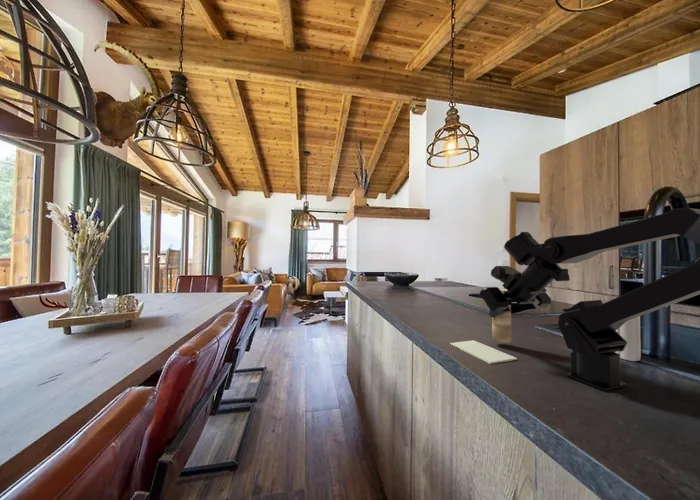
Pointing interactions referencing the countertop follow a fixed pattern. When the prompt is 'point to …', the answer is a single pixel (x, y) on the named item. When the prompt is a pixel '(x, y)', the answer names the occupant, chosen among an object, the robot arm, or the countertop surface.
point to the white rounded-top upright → (631, 339)
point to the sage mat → (483, 352)
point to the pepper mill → (502, 327)
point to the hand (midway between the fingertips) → (497, 315)
